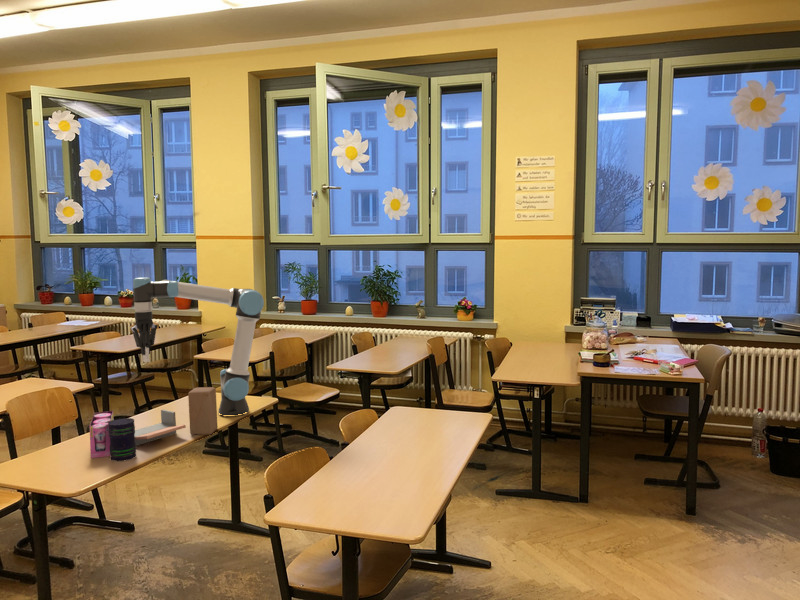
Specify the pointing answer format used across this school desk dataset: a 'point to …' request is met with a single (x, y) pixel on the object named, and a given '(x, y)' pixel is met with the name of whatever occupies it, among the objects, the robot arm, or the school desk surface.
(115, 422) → the storage jar
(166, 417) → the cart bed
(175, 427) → the panel
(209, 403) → the wooden block
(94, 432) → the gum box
